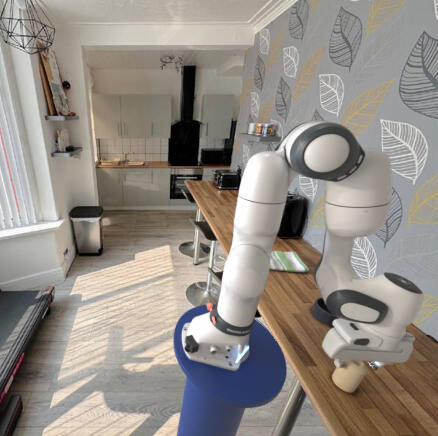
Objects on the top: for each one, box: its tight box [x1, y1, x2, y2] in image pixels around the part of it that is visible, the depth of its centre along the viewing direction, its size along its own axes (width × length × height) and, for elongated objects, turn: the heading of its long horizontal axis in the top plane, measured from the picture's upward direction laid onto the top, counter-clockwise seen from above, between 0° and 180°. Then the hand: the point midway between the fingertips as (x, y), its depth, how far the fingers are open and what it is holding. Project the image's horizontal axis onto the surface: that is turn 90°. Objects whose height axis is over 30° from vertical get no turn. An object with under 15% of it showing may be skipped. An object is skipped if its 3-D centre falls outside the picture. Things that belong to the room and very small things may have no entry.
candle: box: [331, 360, 368, 394], centre depth 67 cm, size 6×6×10 cm
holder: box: [311, 296, 340, 328], centre depth 91 cm, size 10×10×5 cm
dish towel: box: [269, 250, 310, 274], centre depth 126 cm, size 17×23×4 cm
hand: (355, 366), depth 66 cm, fingers open, 8 cm apart
